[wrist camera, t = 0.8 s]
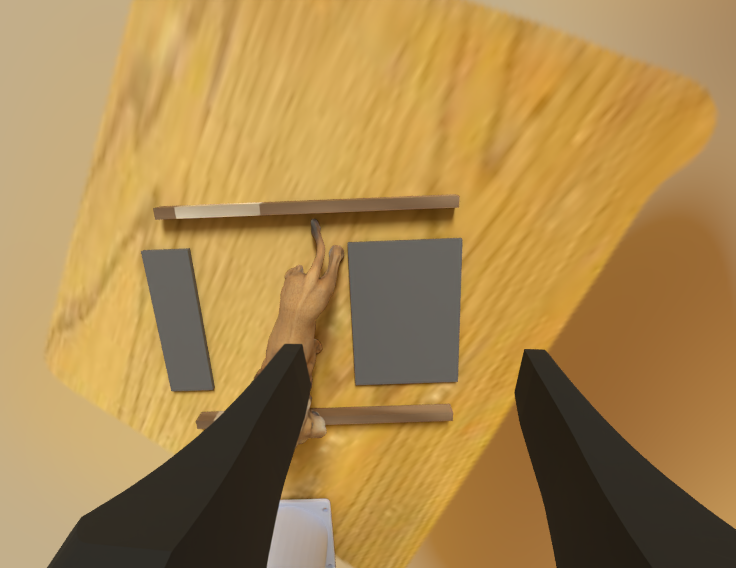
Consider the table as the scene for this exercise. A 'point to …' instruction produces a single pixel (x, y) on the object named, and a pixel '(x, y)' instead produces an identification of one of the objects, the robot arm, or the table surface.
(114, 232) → the table surface
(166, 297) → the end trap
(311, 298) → the lion figurine
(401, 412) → the wooden sticks
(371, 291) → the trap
